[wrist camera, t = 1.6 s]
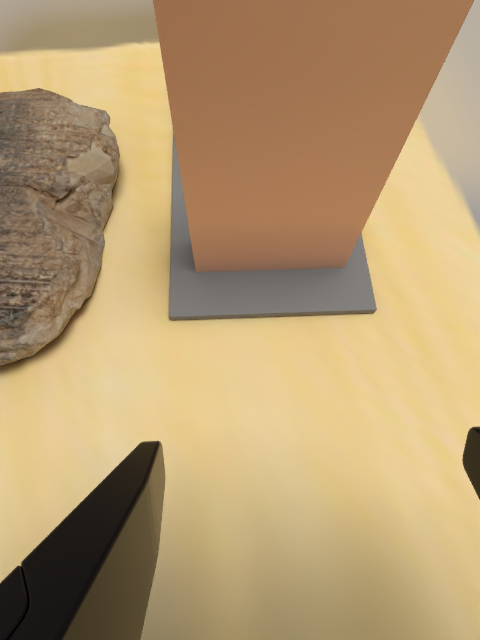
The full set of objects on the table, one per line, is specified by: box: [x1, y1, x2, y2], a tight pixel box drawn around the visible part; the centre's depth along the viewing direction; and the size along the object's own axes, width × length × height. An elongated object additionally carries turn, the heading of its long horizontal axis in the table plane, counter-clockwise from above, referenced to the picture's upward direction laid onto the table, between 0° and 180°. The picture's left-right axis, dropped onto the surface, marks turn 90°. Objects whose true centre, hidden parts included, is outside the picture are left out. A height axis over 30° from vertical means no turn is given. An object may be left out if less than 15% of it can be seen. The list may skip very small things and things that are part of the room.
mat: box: [169, 137, 377, 320], centre depth 28 cm, size 20×12×1 cm, turn 3°
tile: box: [153, 0, 474, 272], centre depth 18 cm, size 2×9×15 cm, turn 93°
